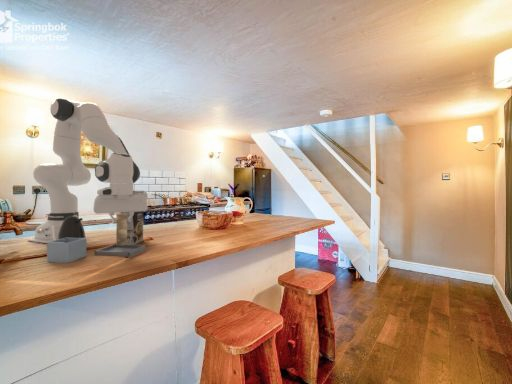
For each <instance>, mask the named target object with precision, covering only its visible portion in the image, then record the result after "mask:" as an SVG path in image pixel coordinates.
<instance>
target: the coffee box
mask: <svg viewBox="0 0 512 384" xmlns="http://www.w3.org/2000/svg"><path fill="white" fill-rule="evenodd" d="M122 214H127V218H129V216H130V214H129V212H122ZM143 241H144V211H139V212H134V215H133V216H132V218H131V222H127V245H138V244H139V243H142V242H143Z"/></svg>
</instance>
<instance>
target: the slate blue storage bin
mask: <svg viewBox="0 0 512 384" xmlns="http://www.w3.org/2000/svg"><path fill="white" fill-rule="evenodd" d="M86 257H87V237H86V238H72V237H66V238H62V239H58V240H54V241H50V242H47V243H46V262H47V263H49V262H50V263H65V264H66V263H67V264H69V263H71V262H75V261H77V260H79V259H82V258H86Z"/></svg>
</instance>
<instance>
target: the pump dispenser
mask: <svg viewBox="0 0 512 384" xmlns="http://www.w3.org/2000/svg"><path fill="white" fill-rule="evenodd" d="M82 221H83V218H82V217H80V218H78V217H76V216H69V217H67V218H66V219H65V220H64V221H63V223H62V225H61V227H60V230H59V234H58V239H62V238H66V237H72V238H86V239H87V237H86V232H85V227H84V225H83V223H82ZM58 239H57V240H58Z"/></svg>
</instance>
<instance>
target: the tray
mask: <svg viewBox="0 0 512 384" xmlns="http://www.w3.org/2000/svg"><path fill="white" fill-rule="evenodd" d="M146 247H147V246H146V245H143V244H141V245H140V244H135V245H127V244H126V245H116V243H113V244H111V245H107V246H105V247H102V248H99V249H97V250H94V255H98V256H99V255H100V256H115V257H116V256H118V257H124V259H131V258H132V257H135V256H137V255H138V254H141V253H142V252H145V251H146Z"/></svg>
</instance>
